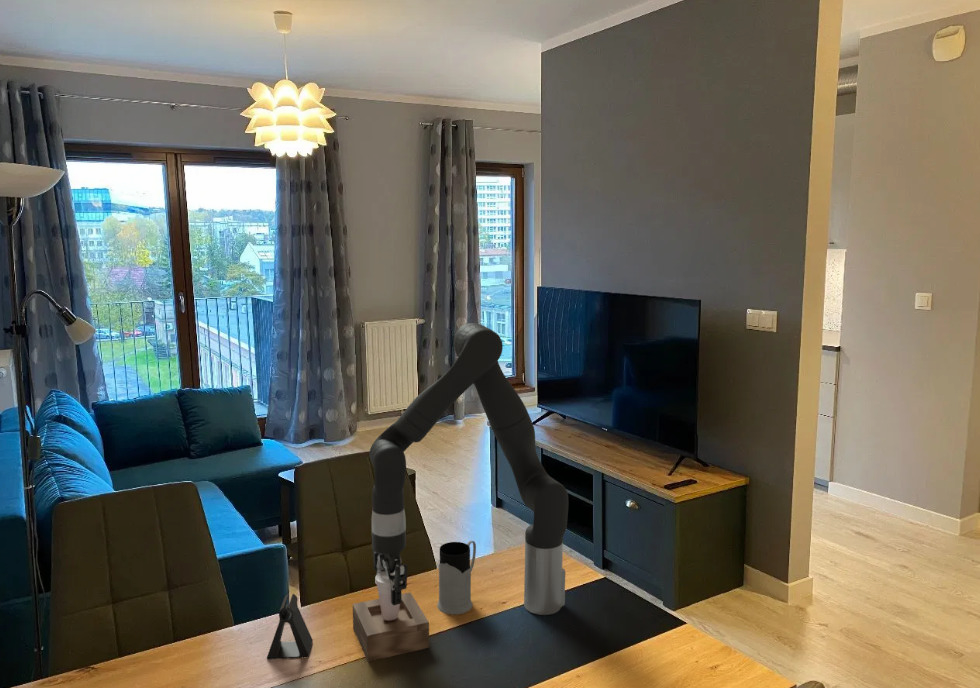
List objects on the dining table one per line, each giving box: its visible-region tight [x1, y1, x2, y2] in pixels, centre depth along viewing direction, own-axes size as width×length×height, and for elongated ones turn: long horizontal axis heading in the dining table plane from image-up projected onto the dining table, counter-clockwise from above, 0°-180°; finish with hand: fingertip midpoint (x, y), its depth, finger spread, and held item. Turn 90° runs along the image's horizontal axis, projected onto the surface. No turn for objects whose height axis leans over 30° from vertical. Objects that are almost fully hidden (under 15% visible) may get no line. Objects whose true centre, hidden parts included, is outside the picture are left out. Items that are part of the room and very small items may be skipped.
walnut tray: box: [352, 592, 430, 663], centre depth 167 cm, size 14×14×6 cm
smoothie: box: [374, 571, 403, 620], centre depth 165 cm, size 6×6×14 cm
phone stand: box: [266, 593, 314, 660], centre depth 161 cm, size 9×6×12 cm, turn 95°
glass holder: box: [436, 540, 477, 615], centre depth 183 cm, size 9×14×15 cm, turn 151°
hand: (390, 596), depth 166 cm, fingers closed on smoothie, 6 cm apart
